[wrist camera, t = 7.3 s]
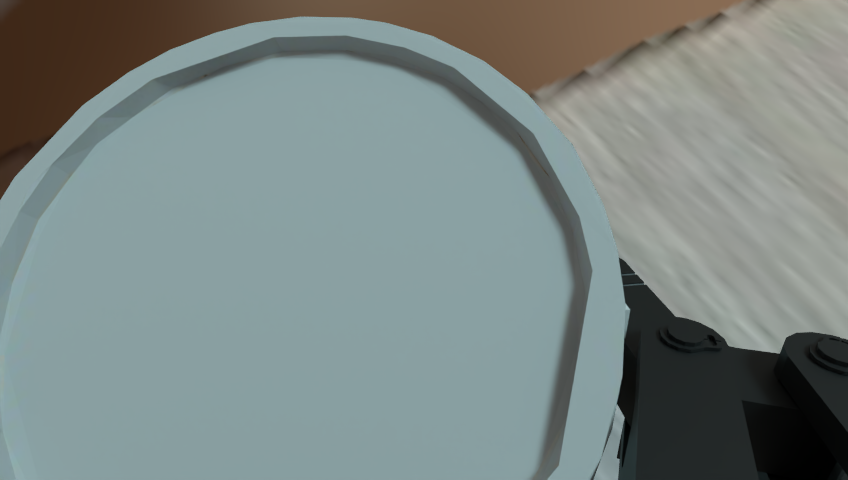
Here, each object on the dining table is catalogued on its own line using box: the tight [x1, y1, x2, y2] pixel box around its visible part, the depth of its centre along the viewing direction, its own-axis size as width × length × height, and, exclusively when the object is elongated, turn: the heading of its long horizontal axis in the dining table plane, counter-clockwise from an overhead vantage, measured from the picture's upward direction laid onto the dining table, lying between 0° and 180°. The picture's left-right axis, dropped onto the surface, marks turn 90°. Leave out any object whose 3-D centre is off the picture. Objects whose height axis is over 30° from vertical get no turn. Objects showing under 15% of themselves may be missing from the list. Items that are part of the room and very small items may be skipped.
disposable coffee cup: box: [0, 17, 626, 480], centre depth 11 cm, size 10×10×12 cm
